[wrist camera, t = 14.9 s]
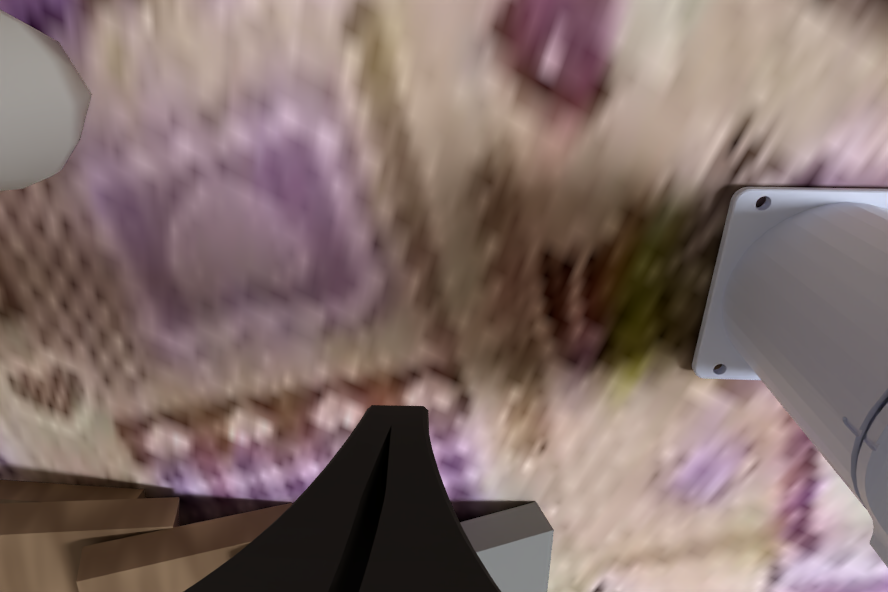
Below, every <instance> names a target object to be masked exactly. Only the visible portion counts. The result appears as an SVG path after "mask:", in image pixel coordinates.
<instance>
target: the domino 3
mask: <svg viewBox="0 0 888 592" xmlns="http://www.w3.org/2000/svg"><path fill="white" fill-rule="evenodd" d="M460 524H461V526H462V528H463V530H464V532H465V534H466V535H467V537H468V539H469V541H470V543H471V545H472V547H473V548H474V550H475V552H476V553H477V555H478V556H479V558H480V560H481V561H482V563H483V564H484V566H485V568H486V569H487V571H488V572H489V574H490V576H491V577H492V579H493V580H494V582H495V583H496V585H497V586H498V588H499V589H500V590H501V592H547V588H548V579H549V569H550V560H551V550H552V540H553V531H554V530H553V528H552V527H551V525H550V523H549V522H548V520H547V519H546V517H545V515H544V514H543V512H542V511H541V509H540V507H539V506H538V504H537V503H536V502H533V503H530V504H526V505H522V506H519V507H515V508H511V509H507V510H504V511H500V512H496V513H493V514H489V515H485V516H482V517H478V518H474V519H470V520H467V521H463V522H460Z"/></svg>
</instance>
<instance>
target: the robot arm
mask: <svg viewBox="0 0 888 592" xmlns="http://www.w3.org/2000/svg"><path fill="white" fill-rule="evenodd" d="M763 196H766V201H765V203H764V204H763V205H762V206H760V207H756V202H757V200H758V199H759V198H760V197H763ZM718 364H722V366H721V367H720V368H719V369H714V367H715V366H716V365H718ZM692 369H693V370H694V372H695V374H696V375H697V376H698V377H700V378H706V379H741V380H762V382H763V383H764V384H765V385H766V386H767V388H768V389H769V390H770V391H771V393H772V394H773V395H774V396H775V398H776V399H777V400H778V401H779V402H780V404H781V405H782V406H783V407H784V409H785V410H786V411H787V412H788V413H789V415H790V416H791V417H792V418H793V420H794V421H795V422H796V423H797V425H798V426H799V427H800V428H801V429H802V431H803V432H804V433H805V434H806V436H807V437H808V438H809V439H810V441H811V442H812V443H813V444H814V445H815V447H816V448H817V449H818V450H819V452H820V453H821V454H822V455H823V457H824V458H825V459H826V460H827V461H828V463H829V464H830V465H831V466H832V468H833V469H834V470H835V471H836V473H837V474H838V475H839V476H840V477H841V479H842V480H843V481H844V482H845V484H846V485H847V486H848V487H849V489H850V490H851V491H852V492H853V493H854V495H855V496H856V497H857V498H858V500H859V501H860V502H861V503H862V504H863V506H864V507H865V508H866V509H867V510H868V512H869V514H870V516H871V517H872V520H873V525H874V529H873V535H872V538H871V540H870V545H871V546H872V547H873V549H874V550H875V551H876V553H877V554H878V555H879V557H880V558H881V559H882V560H883V562H884V563H885V564H886V566H887V567H888V189H868V188H802V187H743V188H741V189H739V190H737V191H736V192H735V193H734V194H733V196H732V198H731V201H730V205H729V209H728V214H727V218H726V222H725V226H724V231H723V235H722V239H721V243H720V248H719V252H718V256H717V260H716V265H715V269H714V273H713V277H712V282H711V286H710V290H709V294H708V298H707V303H706V307H705V311H704V315H703V320H702V324H701V328H700V332H699V337H698V341H697V345H696V349H695V354H694V358H693V362H692ZM183 592H501V590H500V589H499V588H498V586H497V585H496V583H495V582H494V580H493V579H492V577H491V576H490V574H489V572H488V571H487V569H486V568H485V566H484V564H483V563H482V561H481V560H480V558H479V556H478V555H477V553H476V552H475V550H474V548H473V547H472V545H471V543H470V541H469V539H468V537H467V535H466V534H465V532H464V530H463V528H462V526H461V524H460V522H459V520H458V518H457V516H456V513H455V511H454V509H453V507H452V505H451V502H450V500H449V498H448V495H447V492H446V490H445V487H444V485H443V482H442V479H441V476H440V474H439V471H438V467H437V464H436V461H435V457H434V454H433V450H432V446H431V442H430V437H429V420H428V410H427V409H426V408H425V407H424V406H379V405H372V406H371V407H370V408H368V409H367V411H366V412H365V414H364V416H363V417H362V419H361V420H360V422H359V423H358V425H357V426H356V428H355V429H354V431H353V432H352V433H351V435H350V436H349V438H348V439H347V440H346V442H345V443H344V444H343V446H342V447H341V448H340V450H339V451H338V452H337V453H336V455H335V456H334V457H333V459H332V460H331V461H330V462H329V464H328V465H327V466H326V467H325V469H324V470H323V471H322V472H321V473H320V474H319V476H318V477H317V478H316V479H315V480H314V481H313V482H312V484H311V485H310V486H309V487H308V488H307V489H306V490H305V491H304V493H303V494H302V495H301V496H300V497H299V498H298V499H297V500H296V501H295V502H294V503H293V504H292V505H291V506H290V507H289V508H288V509H287V510H286V511H285V512H284V513H283V514H282V515H281V516H280V517H279V518H278V519H277V520H276V521H274V522H273V523H272V524H271V525H270V526H269V527H268V528H267V529H265V530H264V531H263V532H262V533H261V534H260V535H259V536H257V537H256V538H255V539H254V540H253V541H252V542H251V543H249V544H248V545H247V546H246V547H244V548H243V549H242V550H241V551H240V552H238V553H237V554H236V555H234V556H233V557H232V558H230V559H229V560H228V561H226V562H225V563H224V564H222V565H221V566H220V567H218V568H217V569H215V570H214V571H213V572H211V573H210V574H209V575H207V576H206V577H204V578H203V579H201V580H200V581H199V582H197V583H196V584H194V585H193V586H191V587H189V588H188V589H186V590H185V591H183Z"/></svg>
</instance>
